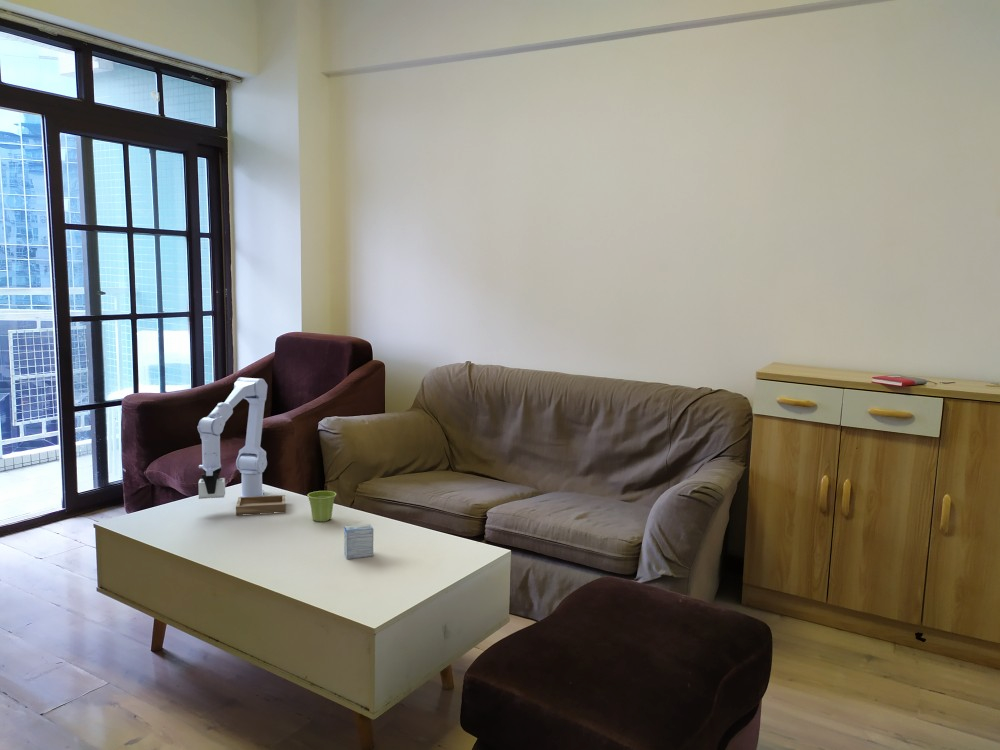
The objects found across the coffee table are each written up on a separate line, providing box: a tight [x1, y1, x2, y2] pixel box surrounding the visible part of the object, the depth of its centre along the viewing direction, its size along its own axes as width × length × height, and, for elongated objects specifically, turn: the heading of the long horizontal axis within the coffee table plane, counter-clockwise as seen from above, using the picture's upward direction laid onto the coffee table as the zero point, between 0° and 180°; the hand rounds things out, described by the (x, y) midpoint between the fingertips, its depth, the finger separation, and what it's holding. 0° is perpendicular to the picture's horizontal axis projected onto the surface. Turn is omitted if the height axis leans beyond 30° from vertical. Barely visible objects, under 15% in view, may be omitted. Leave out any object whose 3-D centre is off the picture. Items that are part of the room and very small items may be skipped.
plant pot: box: [306, 490, 337, 522], centre depth 248 cm, size 9×9×9 cm
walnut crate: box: [235, 494, 286, 516], centre depth 258 cm, size 12×16×3 cm
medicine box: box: [343, 523, 374, 560], centre depth 215 cm, size 8×4×9 cm, turn 111°
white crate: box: [197, 477, 226, 500], centre depth 252 cm, size 5×8×6 cm, turn 106°
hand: (212, 491), depth 252 cm, fingers closed on white crate, 5 cm apart
